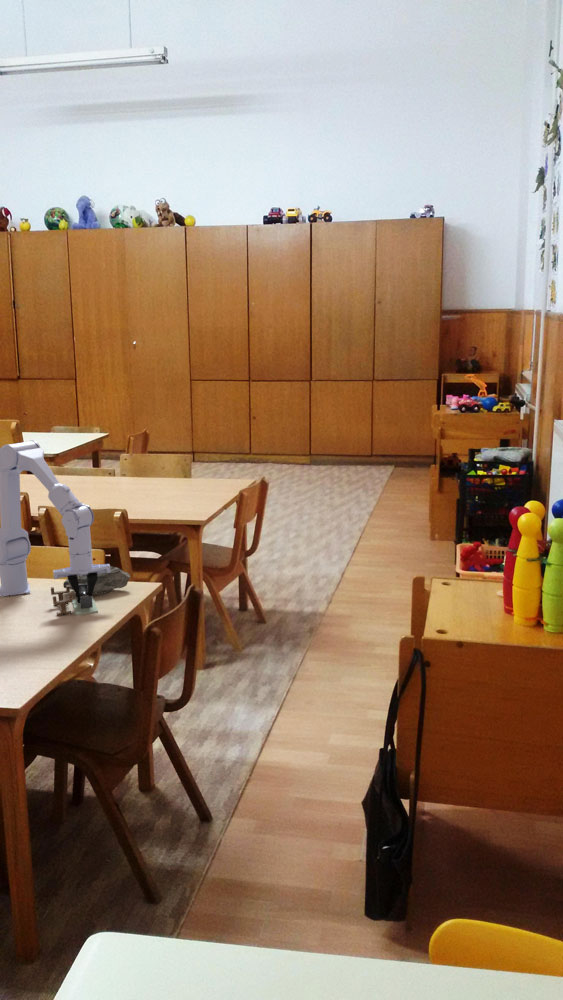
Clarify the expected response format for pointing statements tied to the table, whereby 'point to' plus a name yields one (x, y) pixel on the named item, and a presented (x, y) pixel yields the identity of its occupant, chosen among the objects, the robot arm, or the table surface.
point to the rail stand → (62, 600)
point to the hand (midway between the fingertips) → (84, 601)
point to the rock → (105, 580)
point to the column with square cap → (85, 597)
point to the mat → (85, 610)
